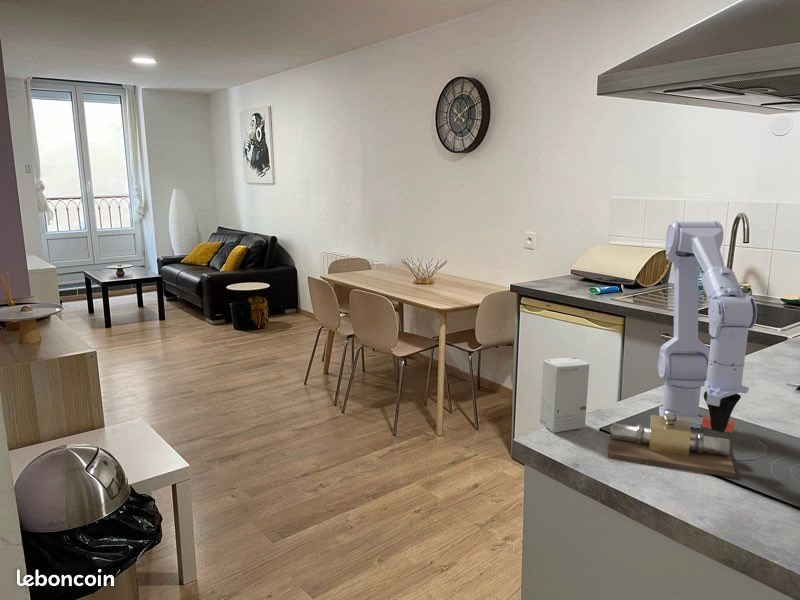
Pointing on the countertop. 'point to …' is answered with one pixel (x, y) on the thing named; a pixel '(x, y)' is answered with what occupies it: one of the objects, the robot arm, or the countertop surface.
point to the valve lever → (694, 419)
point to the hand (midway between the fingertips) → (718, 430)
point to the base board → (671, 458)
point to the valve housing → (671, 437)
